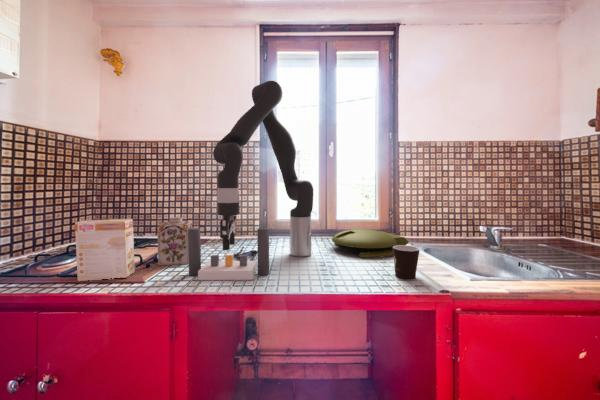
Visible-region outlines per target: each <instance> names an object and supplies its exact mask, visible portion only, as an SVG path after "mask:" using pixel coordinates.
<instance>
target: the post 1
mask: <svg viewBox="0 0 600 400" xmlns="http://www.w3.org/2000/svg"><path fill="white" fill-rule="evenodd" d="M201 243H202V242H201V228H198V227H197V228H195V227H194V228H192V229H188V252H189V264H188V275H189V276H190V277H198V271H199V270H200V269H201V268H202V256H201V255H202V254H201V253H202V252H201V248H202V247H201Z"/></svg>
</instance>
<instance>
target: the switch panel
mask: <svg viewBox="0 0 600 400" xmlns="http://www.w3.org/2000/svg"><path fill="white" fill-rule="evenodd" d="M257 271H258V260H253V261H250V260H248V258H247V255H240V258H239V260H233V266H225V260H220V255H219V254H212V255H210V260H208V261H207V262H206V263H205V264H204V265H203V266H201V269H200V270H199V271H198V276H197V281H223V280H224V281H228V280H230V281H232V280H234V281H237V280H238V281H239V280H243V281H244V280H246V281H247V280H253V279H254V278H255V276H256V273H257ZM255 272H256V273H255Z"/></svg>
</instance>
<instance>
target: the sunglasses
mask: <svg viewBox="0 0 600 400" xmlns="http://www.w3.org/2000/svg"><path fill="white" fill-rule="evenodd" d="M244 248H245V246H242V247H241V248H240V250H239V251H238V252H237V253H233V258H239V259H240V255H247V259H249V261H254V259H255V258H257V256H258V250H255V249H254V248H253V250H250V251H245V252H243V251H244V250H243V249H244ZM242 252H243V253H242Z"/></svg>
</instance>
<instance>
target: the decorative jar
mask: <svg viewBox="0 0 600 400" xmlns="http://www.w3.org/2000/svg"><path fill="white" fill-rule="evenodd" d="M192 228H195V227H194V225H193V223H192V221H187V220H183V217H180V216H179V217H169V221H165V222H162V223H160V224H159V227H158V229H157V232H156V234H157V265H158V266H159V265H161V266H177V265H178V266H179V265H189V252H188V229H192Z"/></svg>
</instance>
